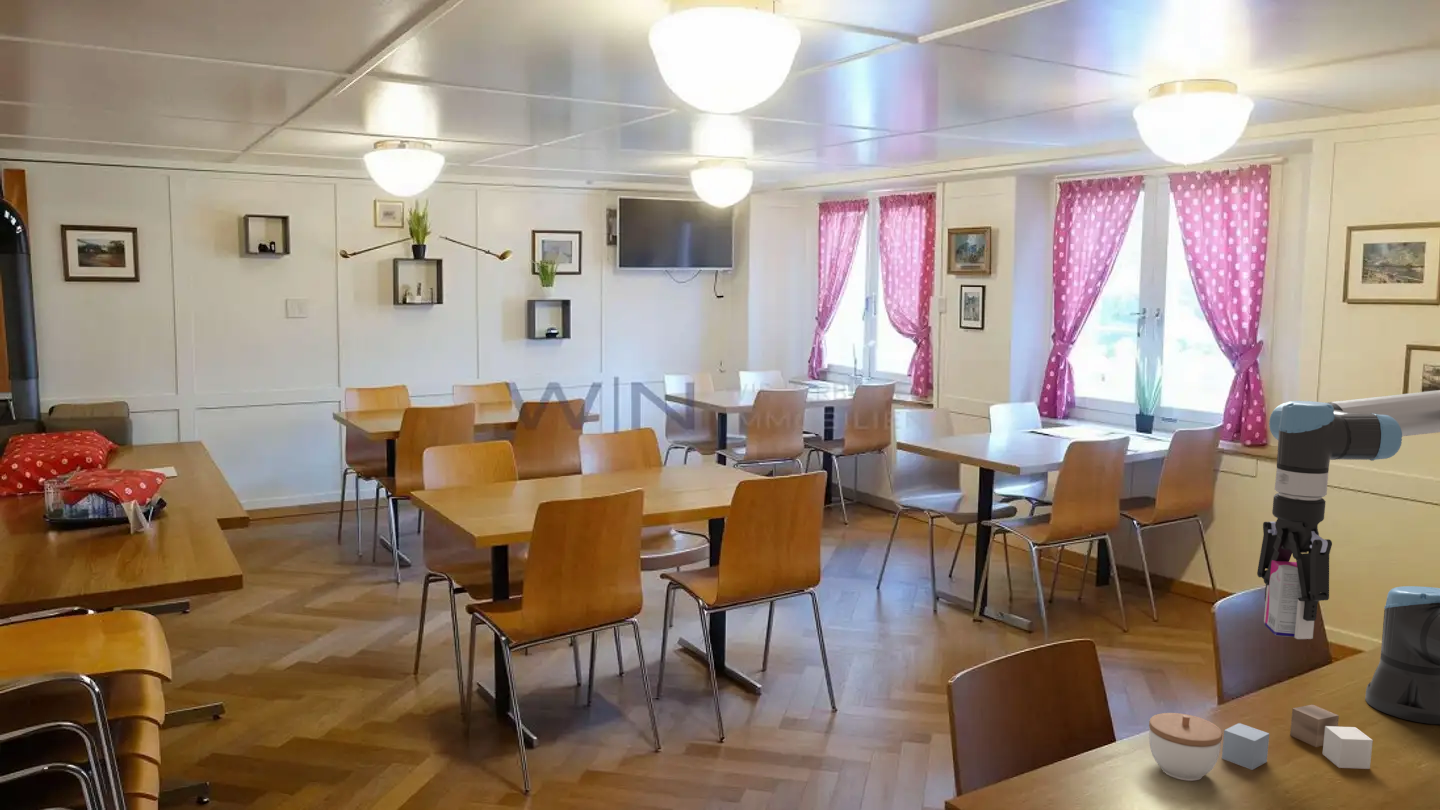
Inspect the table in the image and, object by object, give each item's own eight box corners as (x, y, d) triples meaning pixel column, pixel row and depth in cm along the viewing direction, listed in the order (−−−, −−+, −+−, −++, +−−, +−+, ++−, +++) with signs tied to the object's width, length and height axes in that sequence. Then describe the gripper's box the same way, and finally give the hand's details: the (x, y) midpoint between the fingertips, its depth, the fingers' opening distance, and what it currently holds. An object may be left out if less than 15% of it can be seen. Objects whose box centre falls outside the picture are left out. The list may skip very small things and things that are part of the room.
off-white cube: (1352, 755, 178) (1355, 727, 177) (1369, 769, 173) (1372, 740, 172) (1322, 754, 178) (1325, 726, 177) (1338, 768, 173) (1341, 738, 172)
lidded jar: (1221, 767, 172) (1226, 712, 171) (1214, 794, 163) (1219, 736, 162) (1151, 751, 177) (1155, 697, 176) (1140, 776, 168) (1145, 720, 167)
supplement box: (1313, 639, 173) (1319, 571, 172) (1274, 636, 174) (1280, 568, 173) (1301, 627, 179) (1307, 561, 177) (1263, 624, 180) (1269, 559, 178)
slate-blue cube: (1236, 751, 178) (1239, 722, 178) (1266, 762, 174) (1269, 733, 174) (1221, 758, 175) (1224, 730, 175) (1252, 770, 171) (1254, 741, 171)
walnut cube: (1310, 731, 187) (1312, 704, 186) (1336, 743, 182) (1338, 715, 182) (1290, 735, 185) (1292, 708, 184) (1315, 747, 180) (1318, 719, 180)
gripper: (1240, 483, 183) (1230, 612, 186) (1321, 508, 163) (1308, 652, 166) (1280, 483, 184) (1269, 610, 187) (1365, 508, 164) (1351, 650, 167)
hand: (1287, 630), depth 176 cm, fingers closed on supplement box, 7 cm apart
